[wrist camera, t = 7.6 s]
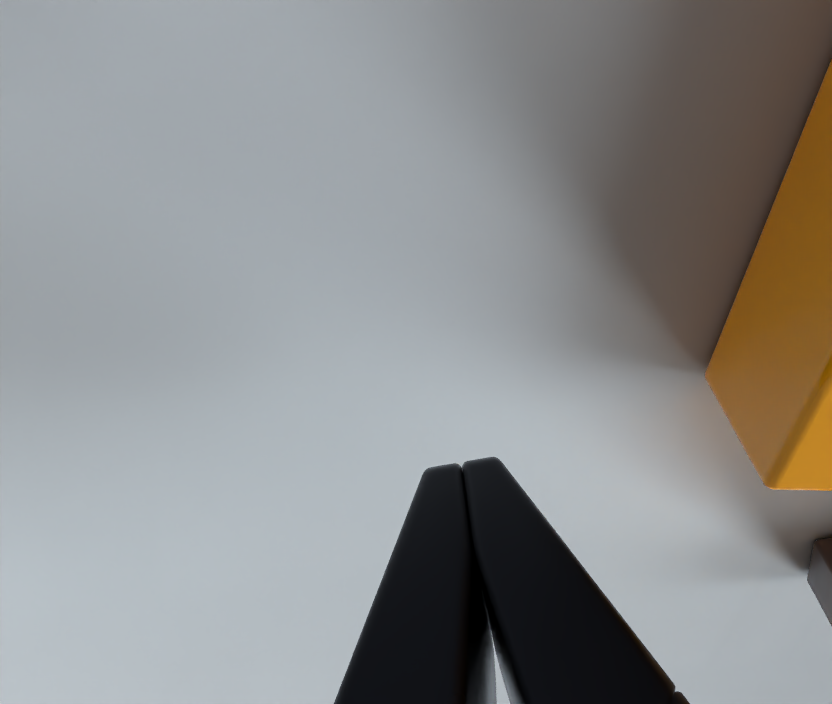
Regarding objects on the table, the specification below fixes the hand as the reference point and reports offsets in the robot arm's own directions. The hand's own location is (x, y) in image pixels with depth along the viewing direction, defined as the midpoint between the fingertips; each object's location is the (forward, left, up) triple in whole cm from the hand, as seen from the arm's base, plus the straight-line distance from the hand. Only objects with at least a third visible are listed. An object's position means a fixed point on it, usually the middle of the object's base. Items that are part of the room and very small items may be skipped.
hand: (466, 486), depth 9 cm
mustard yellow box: (-8, -2, -3) cm, 9 cm away
